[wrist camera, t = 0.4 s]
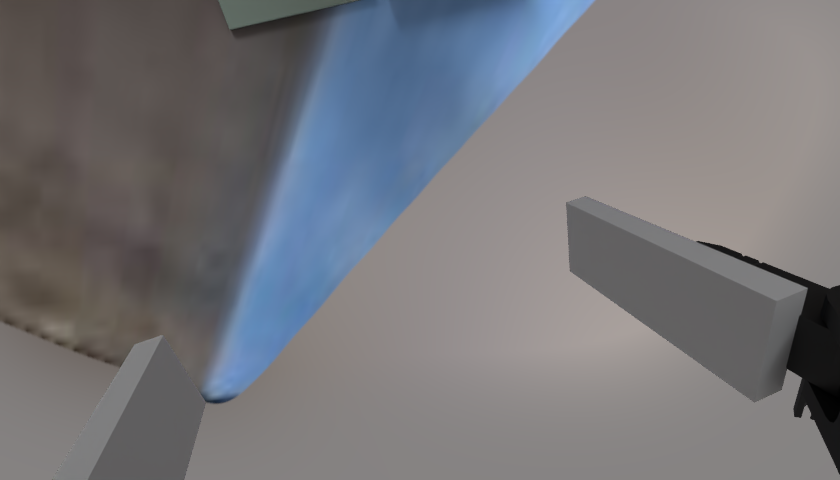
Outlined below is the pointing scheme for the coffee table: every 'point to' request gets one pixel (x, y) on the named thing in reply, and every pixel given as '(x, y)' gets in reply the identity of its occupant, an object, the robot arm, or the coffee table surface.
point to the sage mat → (269, 10)
